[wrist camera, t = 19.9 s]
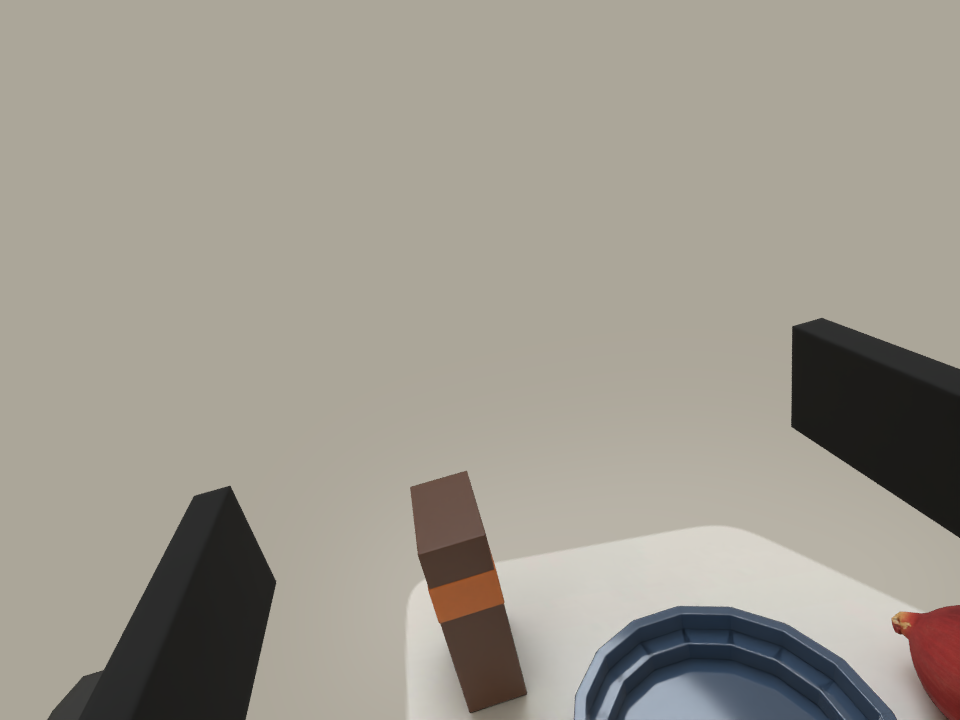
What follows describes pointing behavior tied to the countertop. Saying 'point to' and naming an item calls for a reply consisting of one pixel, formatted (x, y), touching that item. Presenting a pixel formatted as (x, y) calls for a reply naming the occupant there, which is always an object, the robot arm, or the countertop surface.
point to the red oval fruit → (935, 654)
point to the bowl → (720, 672)
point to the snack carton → (466, 590)
